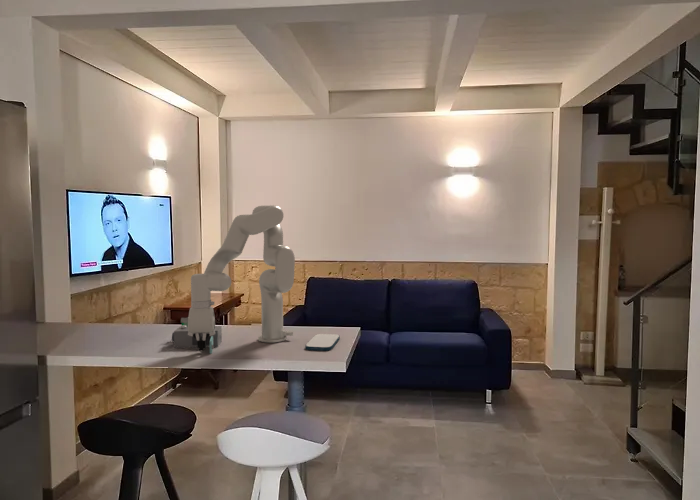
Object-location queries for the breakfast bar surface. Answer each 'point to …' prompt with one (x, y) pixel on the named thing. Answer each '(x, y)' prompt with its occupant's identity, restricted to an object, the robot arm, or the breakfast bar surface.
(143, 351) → the breakfast bar surface
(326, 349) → the external hard drive
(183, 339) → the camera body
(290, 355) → the breakfast bar surface
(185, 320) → the food container
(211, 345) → the side door
